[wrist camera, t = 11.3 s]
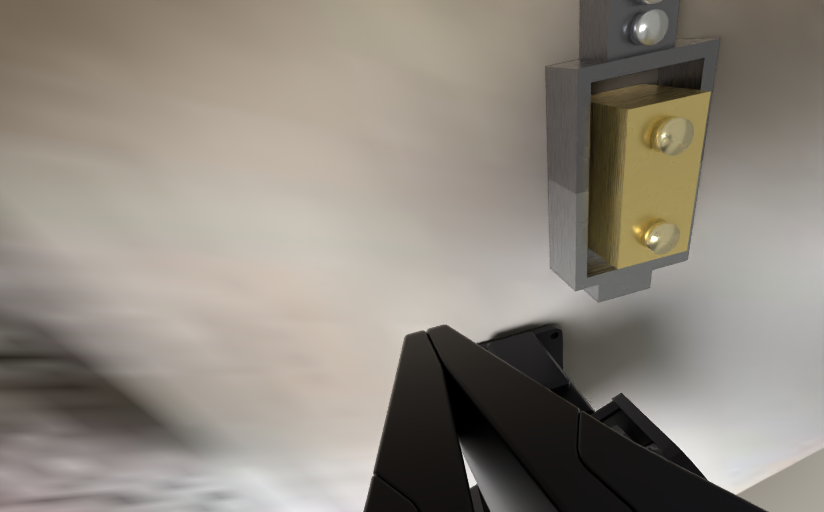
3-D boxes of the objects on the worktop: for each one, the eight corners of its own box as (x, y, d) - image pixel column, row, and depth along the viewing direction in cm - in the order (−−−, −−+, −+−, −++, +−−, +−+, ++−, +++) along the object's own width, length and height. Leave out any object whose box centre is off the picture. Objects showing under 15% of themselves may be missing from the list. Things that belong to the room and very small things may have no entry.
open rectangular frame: (650, 263, 25) (685, 285, 23) (550, 291, 24) (576, 316, 22) (681, -41, 18) (735, -53, 16) (543, -15, 17) (579, -23, 15)
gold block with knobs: (630, 220, 23) (697, 256, 19) (570, 235, 23) (626, 275, 19) (640, 83, 20) (724, 92, 16) (571, 98, 20) (639, 111, 16)
